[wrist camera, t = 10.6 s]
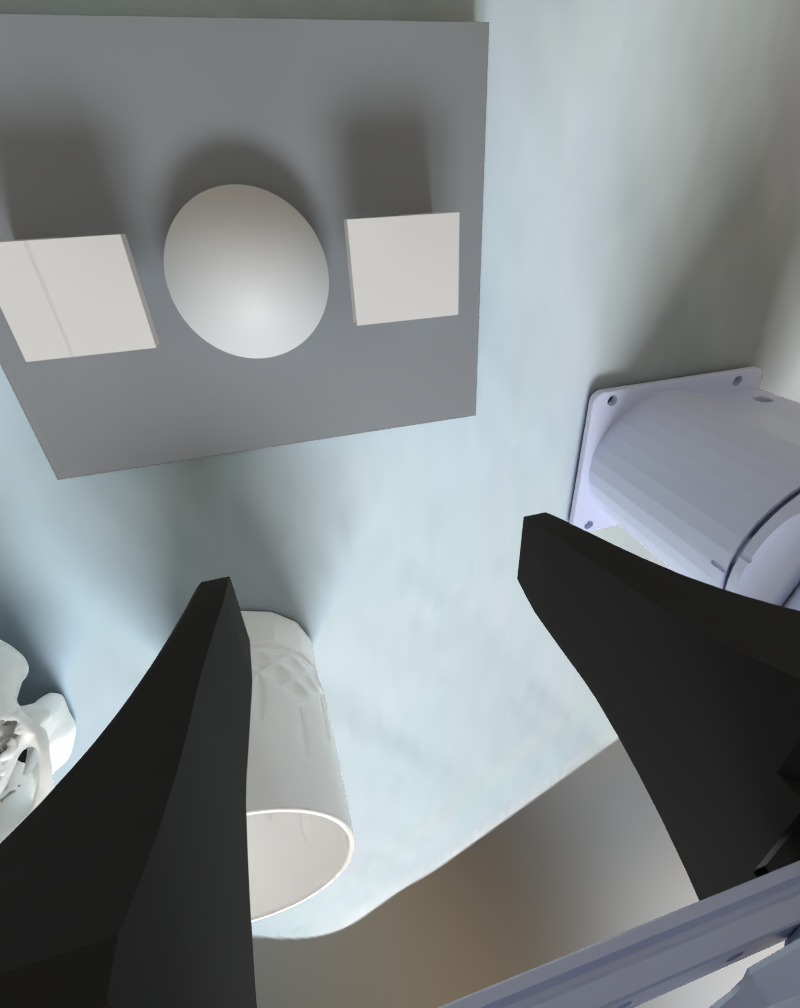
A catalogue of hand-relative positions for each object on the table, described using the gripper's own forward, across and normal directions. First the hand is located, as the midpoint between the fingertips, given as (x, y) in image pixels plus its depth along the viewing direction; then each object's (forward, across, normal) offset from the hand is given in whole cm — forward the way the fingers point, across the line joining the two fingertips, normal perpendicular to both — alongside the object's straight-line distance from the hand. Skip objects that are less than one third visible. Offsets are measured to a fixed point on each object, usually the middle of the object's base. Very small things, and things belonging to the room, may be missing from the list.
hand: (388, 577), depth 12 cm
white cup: (+10, +6, +12) cm, 17 cm away
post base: (+10, +2, -6) cm, 12 cm away
